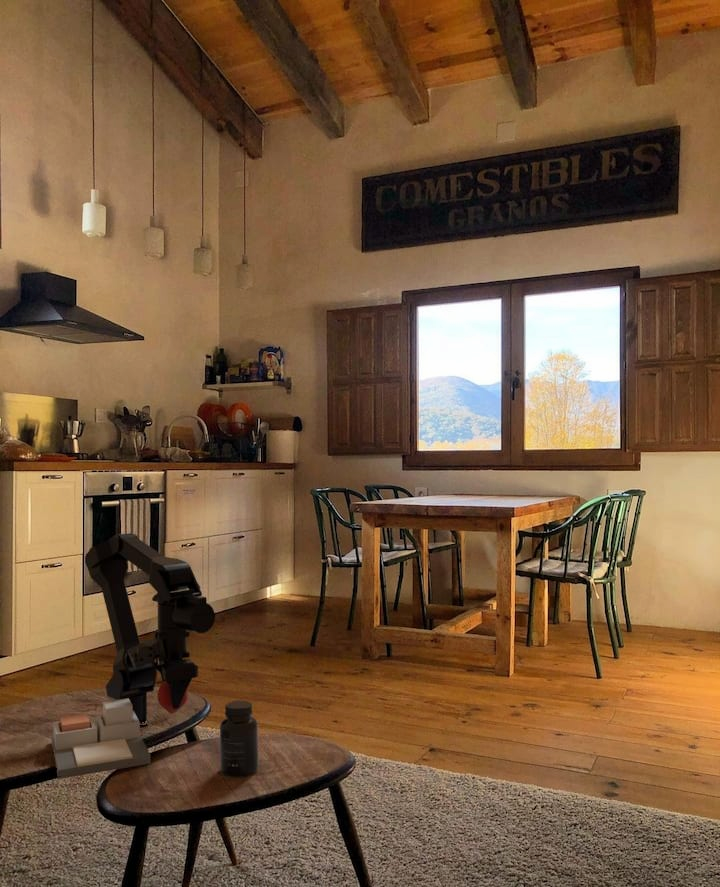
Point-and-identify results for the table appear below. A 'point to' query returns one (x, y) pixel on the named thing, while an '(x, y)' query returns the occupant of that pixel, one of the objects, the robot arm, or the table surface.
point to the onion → (168, 698)
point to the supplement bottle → (238, 740)
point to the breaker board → (98, 748)
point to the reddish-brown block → (74, 722)
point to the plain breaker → (117, 711)
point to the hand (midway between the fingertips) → (172, 703)
